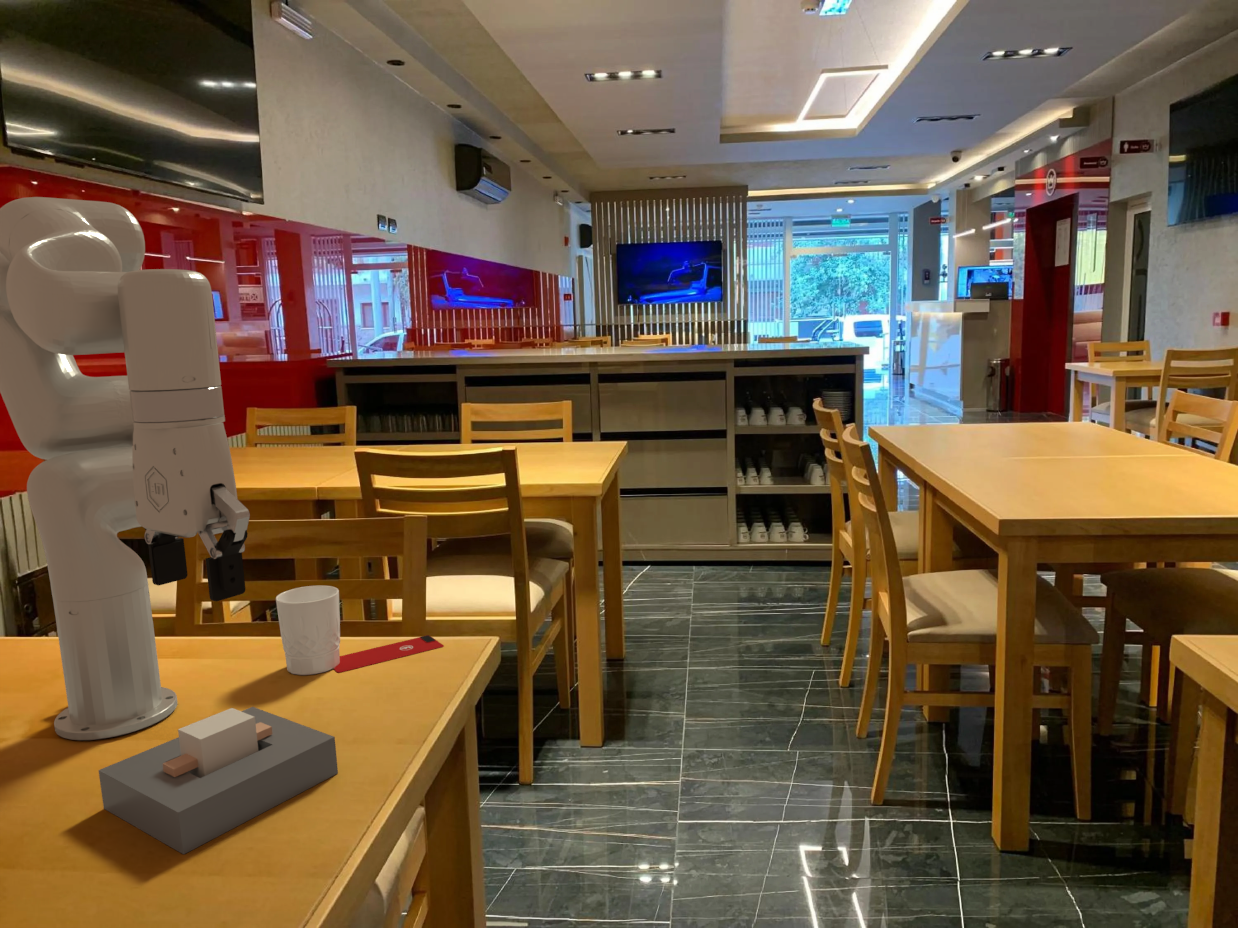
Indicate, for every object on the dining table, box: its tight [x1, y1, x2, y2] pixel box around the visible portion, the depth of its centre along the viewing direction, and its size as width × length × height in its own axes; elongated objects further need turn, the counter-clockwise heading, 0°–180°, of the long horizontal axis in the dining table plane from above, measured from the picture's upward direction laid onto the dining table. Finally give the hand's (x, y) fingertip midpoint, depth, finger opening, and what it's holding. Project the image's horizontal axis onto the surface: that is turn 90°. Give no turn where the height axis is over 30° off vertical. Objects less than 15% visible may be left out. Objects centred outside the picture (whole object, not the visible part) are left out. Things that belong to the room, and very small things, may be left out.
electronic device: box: [332, 634, 445, 674], centre depth 120 cm, size 6×1×15 cm
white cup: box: [275, 585, 341, 676], centre depth 116 cm, size 8×8×10 cm
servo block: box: [163, 707, 272, 778], centre depth 84 cm, size 4×10×6 cm, turn 145°
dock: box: [98, 706, 339, 855], centre depth 85 cm, size 14×16×4 cm
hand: (198, 588), depth 82 cm, fingers open, 9 cm apart
